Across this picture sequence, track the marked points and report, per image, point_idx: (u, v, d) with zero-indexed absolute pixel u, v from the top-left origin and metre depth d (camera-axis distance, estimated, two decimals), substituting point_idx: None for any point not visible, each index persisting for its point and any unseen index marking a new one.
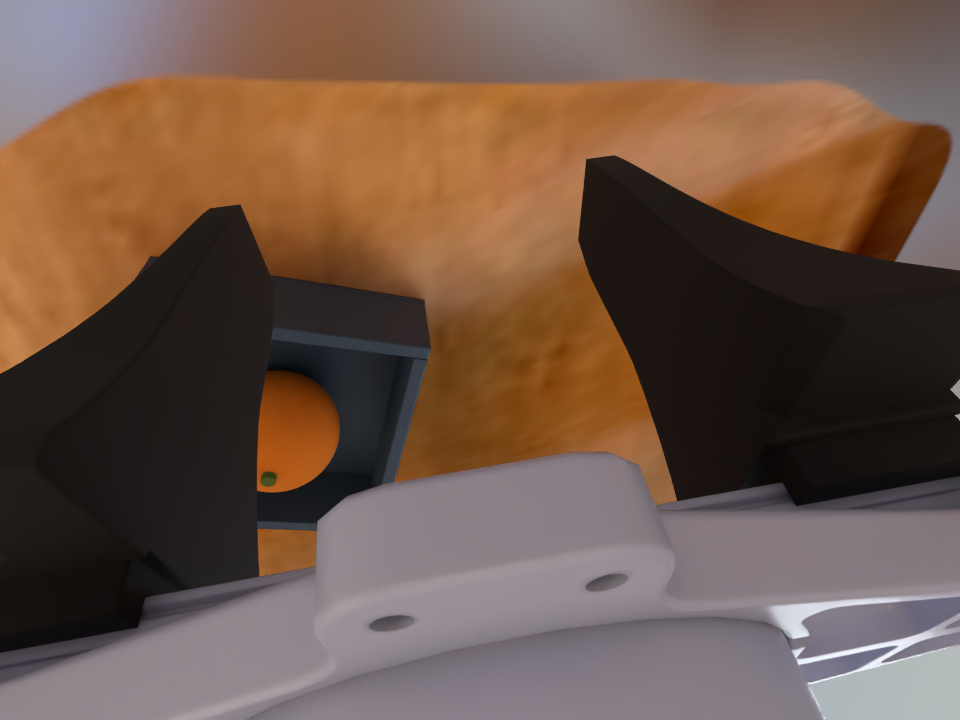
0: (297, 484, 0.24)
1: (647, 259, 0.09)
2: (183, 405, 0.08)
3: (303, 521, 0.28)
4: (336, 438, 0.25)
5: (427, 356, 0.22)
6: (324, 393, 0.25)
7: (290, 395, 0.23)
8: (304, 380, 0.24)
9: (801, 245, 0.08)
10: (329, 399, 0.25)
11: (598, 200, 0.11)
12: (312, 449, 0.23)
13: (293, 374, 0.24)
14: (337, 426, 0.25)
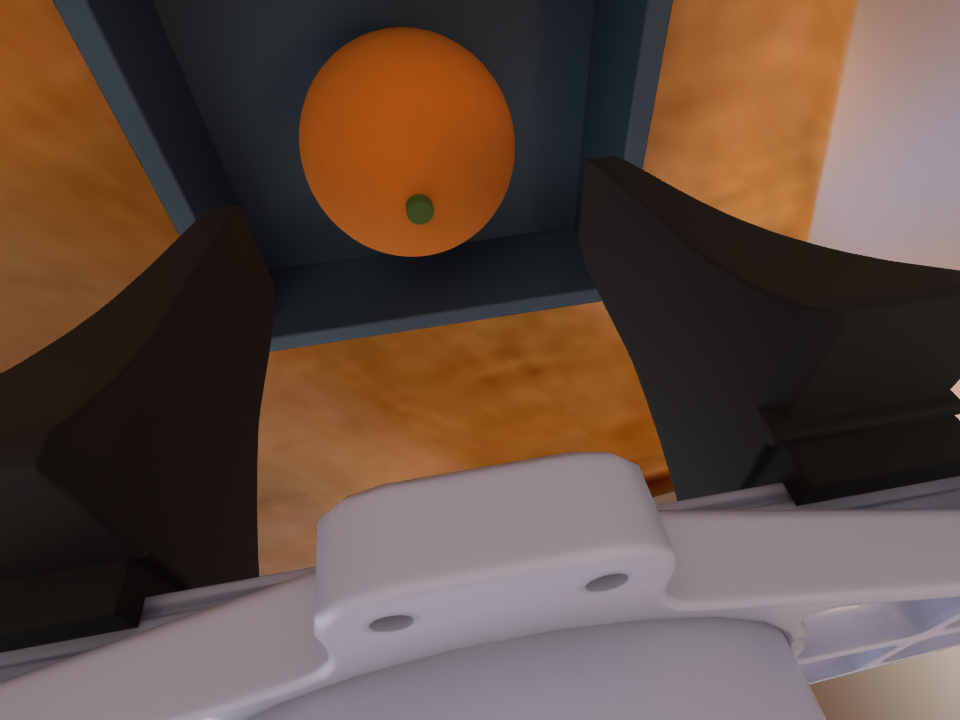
0: (388, 243, 0.13)
1: (647, 259, 0.09)
2: (183, 405, 0.08)
3: None
4: None
5: None
6: None
7: (513, 161, 0.14)
8: None
9: (801, 245, 0.08)
10: None
11: (598, 200, 0.11)
12: (463, 239, 0.14)
13: None
14: None
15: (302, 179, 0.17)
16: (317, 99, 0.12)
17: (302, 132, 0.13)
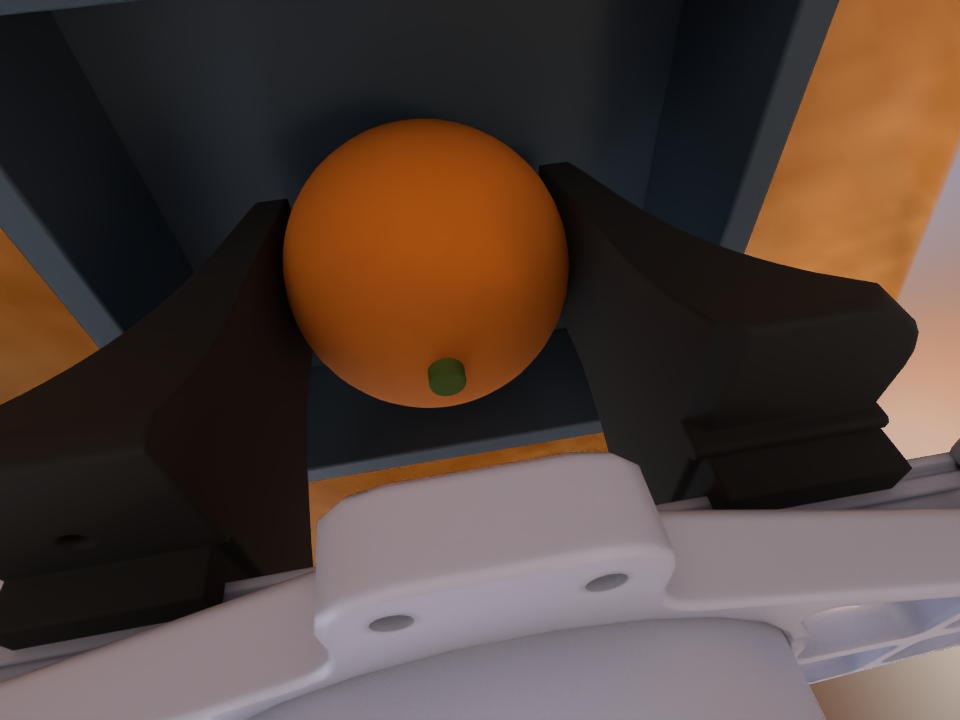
0: (401, 402, 0.10)
1: (591, 267, 0.09)
2: (250, 395, 0.08)
3: None
4: None
5: None
6: None
7: None
8: None
9: (732, 255, 0.08)
10: None
11: None
12: (499, 387, 0.11)
13: None
14: None
15: None
16: (305, 226, 0.09)
17: (286, 263, 0.09)
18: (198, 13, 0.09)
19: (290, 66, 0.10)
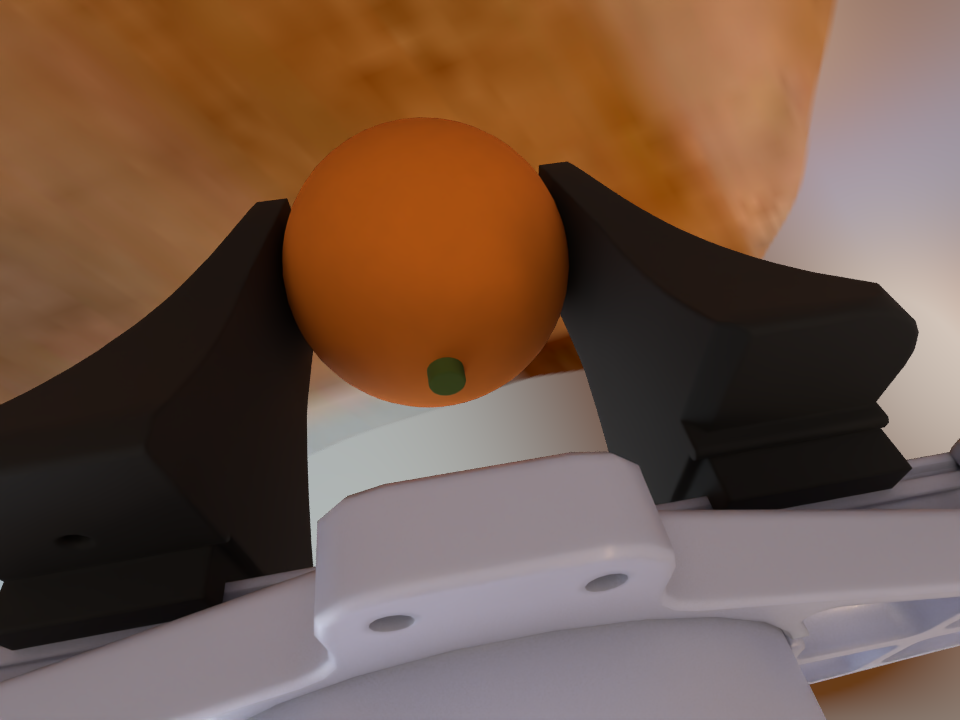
0: (401, 402, 0.10)
1: (591, 267, 0.09)
2: (249, 395, 0.08)
3: None
4: None
5: None
6: None
7: None
8: None
9: (732, 255, 0.08)
10: None
11: None
12: None
13: None
14: None
15: None
16: (305, 225, 0.09)
17: (285, 262, 0.09)
18: None
19: None
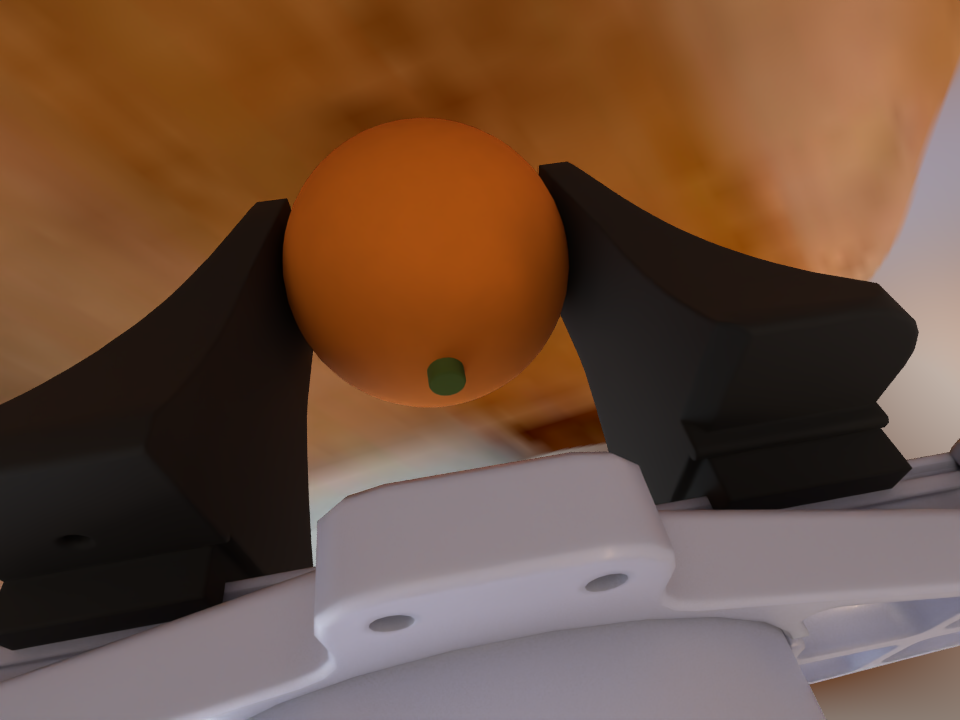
0: (401, 402, 0.10)
1: (591, 267, 0.09)
2: (250, 395, 0.08)
3: None
4: None
5: None
6: None
7: None
8: None
9: (732, 255, 0.08)
10: None
11: None
12: (499, 387, 0.11)
13: None
14: None
15: None
16: (305, 225, 0.09)
17: (286, 262, 0.09)
18: None
19: None
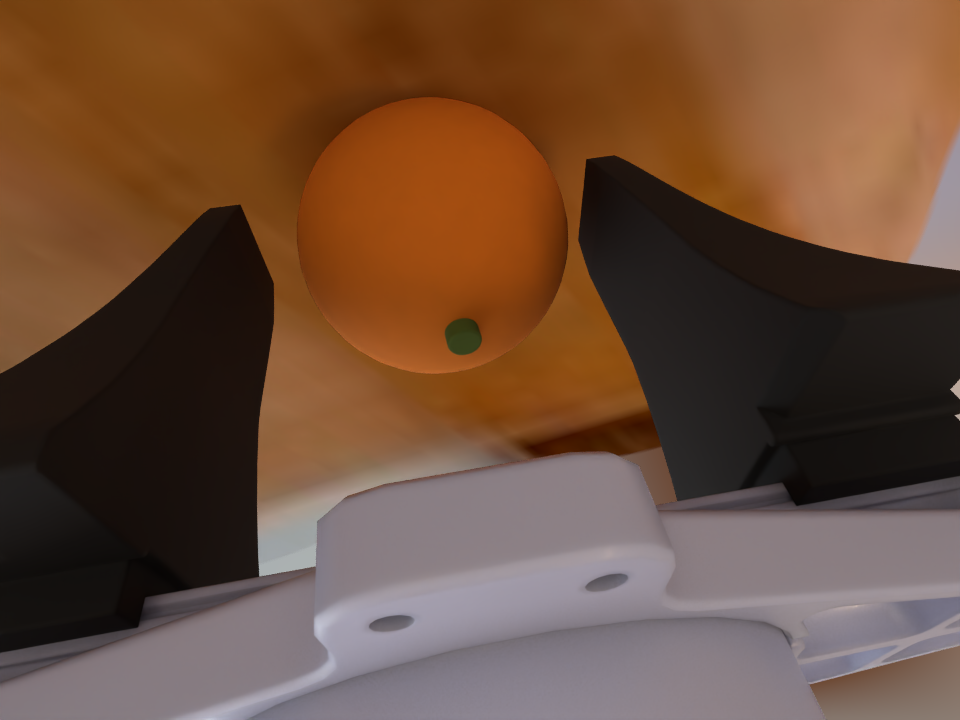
0: (417, 367, 0.11)
1: (647, 259, 0.09)
2: (183, 405, 0.08)
3: None
4: None
5: None
6: None
7: None
8: None
9: (801, 245, 0.08)
10: None
11: (598, 200, 0.11)
12: (507, 351, 0.11)
13: None
14: None
15: None
16: (323, 199, 0.09)
17: (303, 237, 0.10)
18: None
19: None
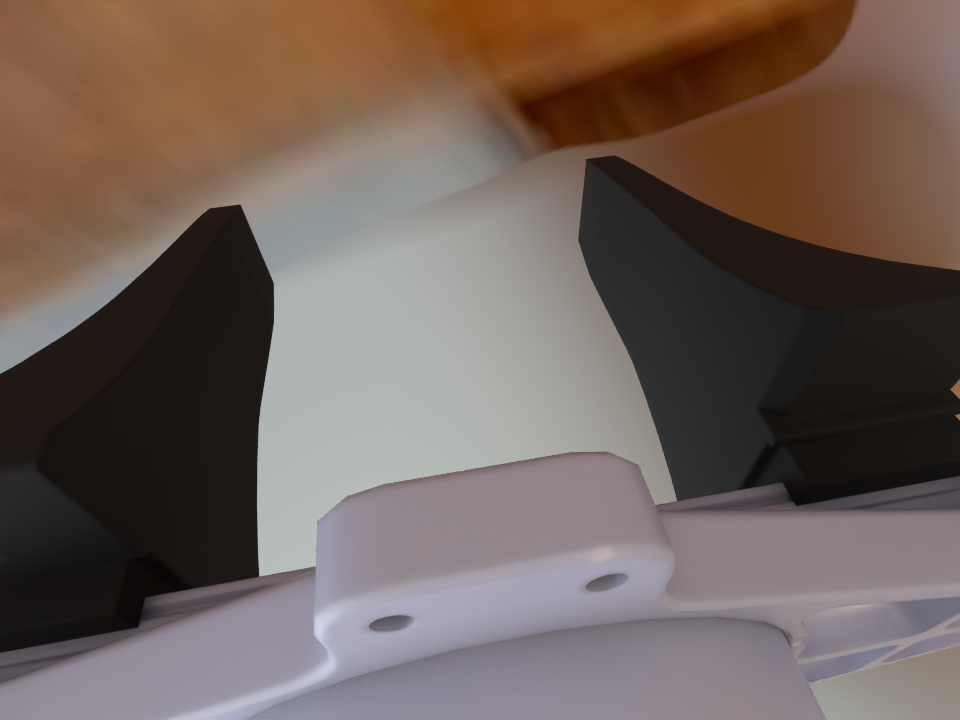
0: None
1: (647, 259, 0.09)
2: (183, 405, 0.08)
3: None
4: None
5: None
6: None
7: None
8: None
9: (801, 245, 0.08)
10: None
11: (598, 200, 0.11)
12: None
13: None
14: None
15: None
16: None
17: None
18: None
19: None
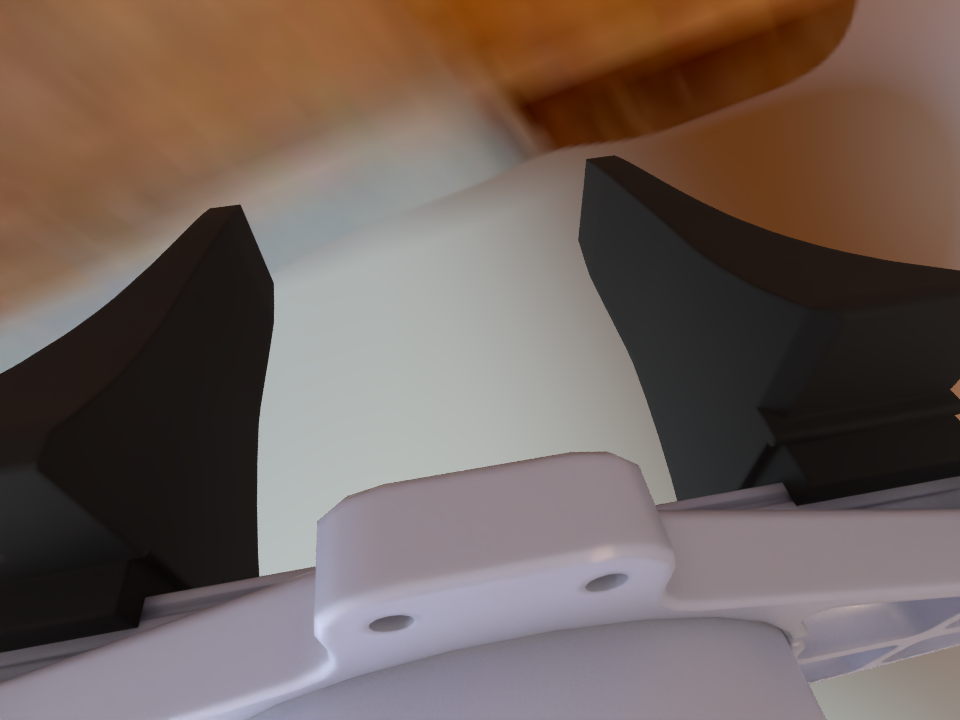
0: None
1: (647, 259, 0.09)
2: (183, 405, 0.08)
3: None
4: None
5: None
6: None
7: None
8: None
9: (801, 245, 0.08)
10: None
11: (598, 200, 0.11)
12: None
13: None
14: None
15: None
16: None
17: None
18: None
19: None
